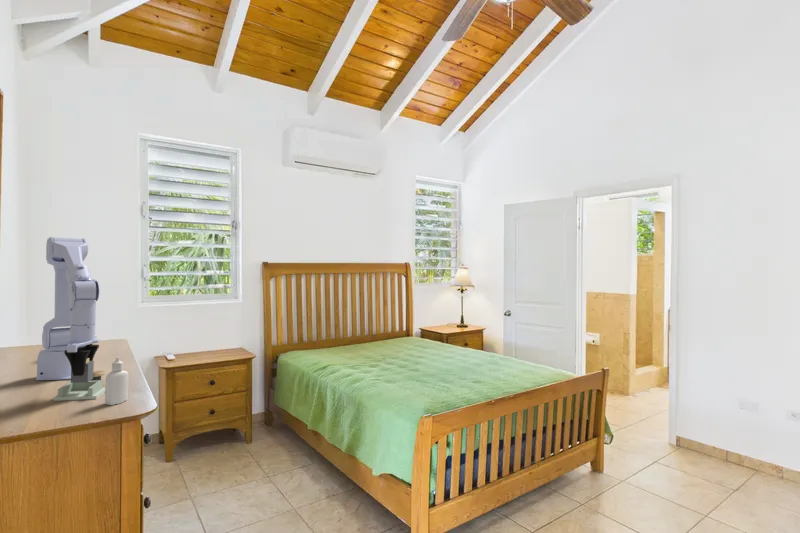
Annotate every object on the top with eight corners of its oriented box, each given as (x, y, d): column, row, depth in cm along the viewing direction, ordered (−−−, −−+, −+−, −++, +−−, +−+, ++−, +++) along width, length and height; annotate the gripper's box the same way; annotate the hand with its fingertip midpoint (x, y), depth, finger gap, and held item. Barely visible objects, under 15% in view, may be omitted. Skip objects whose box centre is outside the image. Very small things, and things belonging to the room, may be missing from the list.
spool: (80, 388, 132) (81, 375, 132) (87, 384, 137) (88, 370, 136) (100, 388, 133) (100, 374, 133) (106, 383, 138) (106, 370, 138)
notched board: (53, 400, 120) (53, 389, 120) (66, 392, 128) (66, 381, 128) (96, 398, 123) (96, 387, 123) (106, 390, 131) (107, 380, 131)
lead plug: (70, 382, 123) (71, 360, 123) (76, 379, 127) (77, 357, 127) (87, 382, 124) (88, 360, 124) (93, 378, 128) (93, 357, 128)
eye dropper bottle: (102, 402, 120) (103, 357, 120) (125, 398, 125) (127, 354, 124) (106, 406, 117) (107, 360, 117) (130, 402, 122) (132, 357, 121)
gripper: (89, 328, 120) (88, 379, 120) (108, 320, 134) (107, 366, 134) (58, 328, 118) (56, 380, 118) (80, 320, 132) (79, 367, 132)
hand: (81, 373), depth 126 cm, fingers closed on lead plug, 4 cm apart
